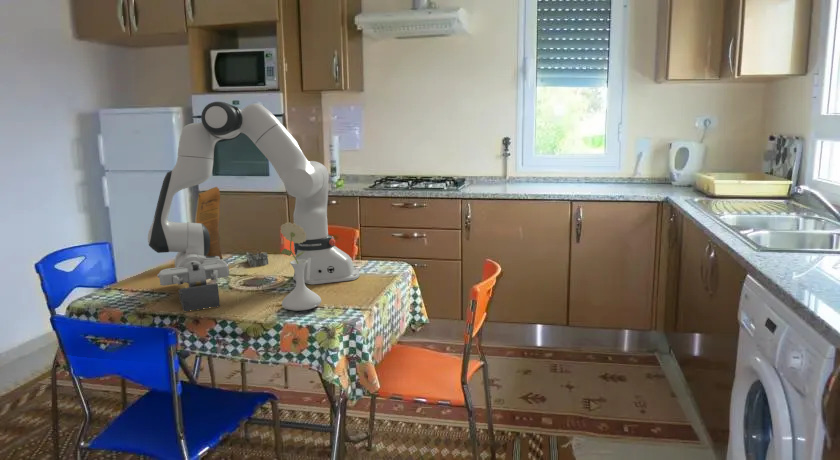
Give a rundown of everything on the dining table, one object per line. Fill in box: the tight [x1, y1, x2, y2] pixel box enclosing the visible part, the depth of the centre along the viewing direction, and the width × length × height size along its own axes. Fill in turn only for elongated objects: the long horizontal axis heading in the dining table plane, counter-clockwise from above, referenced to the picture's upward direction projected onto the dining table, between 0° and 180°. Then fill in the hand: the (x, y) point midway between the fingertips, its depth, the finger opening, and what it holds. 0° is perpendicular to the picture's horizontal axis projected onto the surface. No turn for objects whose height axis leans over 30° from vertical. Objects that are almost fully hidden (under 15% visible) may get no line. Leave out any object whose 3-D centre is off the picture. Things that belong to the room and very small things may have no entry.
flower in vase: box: [280, 222, 323, 312], centre depth 181 cm, size 13×11×25 cm
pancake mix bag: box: [194, 186, 223, 260], centre depth 238 cm, size 7×19×28 cm, turn 168°
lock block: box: [187, 264, 208, 288], centre depth 188 cm, size 6×5×11 cm
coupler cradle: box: [178, 283, 221, 312], centre depth 190 cm, size 14×10×7 cm
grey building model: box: [246, 251, 269, 267], centre depth 237 cm, size 11×8×4 cm
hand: (197, 279), depth 187 cm, fingers open, 8 cm apart
